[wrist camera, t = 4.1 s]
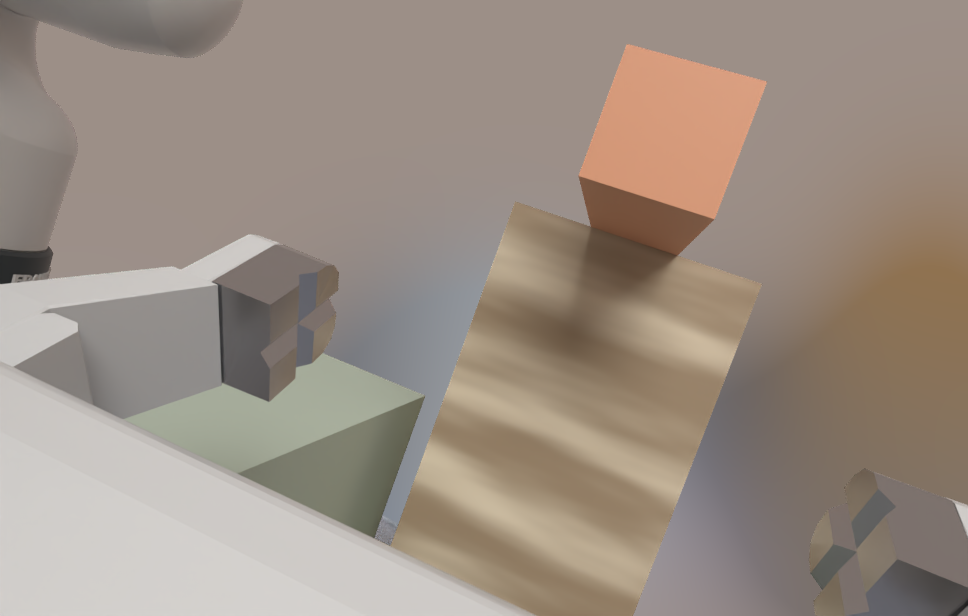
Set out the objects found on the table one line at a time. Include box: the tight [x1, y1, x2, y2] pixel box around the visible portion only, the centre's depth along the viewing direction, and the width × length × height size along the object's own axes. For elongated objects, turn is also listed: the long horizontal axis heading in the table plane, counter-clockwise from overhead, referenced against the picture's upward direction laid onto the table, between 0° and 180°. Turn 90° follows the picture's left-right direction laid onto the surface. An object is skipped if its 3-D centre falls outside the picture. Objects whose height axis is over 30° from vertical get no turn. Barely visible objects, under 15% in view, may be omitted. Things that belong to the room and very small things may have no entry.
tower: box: [391, 202, 762, 616], centre depth 33 cm, size 16×10×26 cm, turn 167°
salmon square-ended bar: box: [579, 44, 767, 255], centre depth 28 cm, size 26×4×4 cm, turn 167°
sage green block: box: [124, 353, 425, 538], centre depth 25 cm, size 16×10×16 cm, turn 167°
